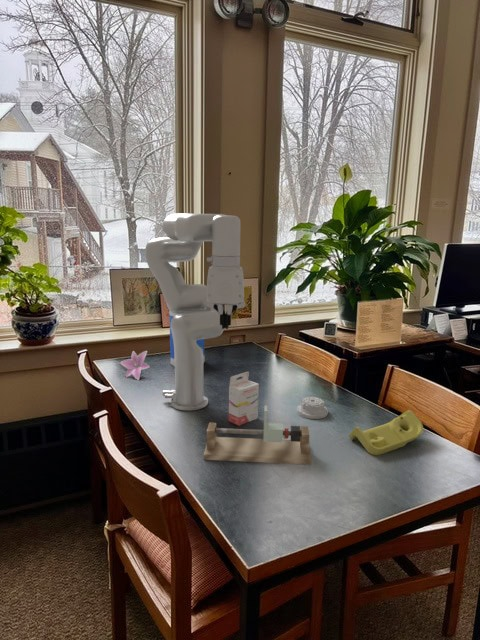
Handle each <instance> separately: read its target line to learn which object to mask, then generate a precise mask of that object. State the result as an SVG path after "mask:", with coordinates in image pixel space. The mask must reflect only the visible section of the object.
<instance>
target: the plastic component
mask: <svg viewBox="0 0 480 640" xmlns="http://www.w3.org/2000/svg"><path fill="white" fill-rule="evenodd" d="M423 432H424V425H423V423H422V421H421V420H420V419H419V418H418V416H416V414H415V413H414V412H413V411H412V410H406V411H404V412H402V413H401V414H400V415H398V416H397V417H395V418H393V419H391V420H390V421H389V422H386V423H383V424H381V425H378V426H375V427H372V428H371V427H370V428H369V429H365V430H362V429H361V428H360V427H359V426H355V427H354V428H353V430H351V432H350V433H349V435H348V438H349V439H350V440H352V441H356V440H358V441H359V442H360V443H361V445H362V446H363V448H364V449H365V450H366V452H367V453H369V454H370V455H372V456H381V455H382V454H386V453H388V452H391V451H394V450H398V449H400V448H402V447H405V446H406V445H407V444H408V443H410V442H412V441H414V440H416V439H417V438H418V437H420V436H421V435H422V433H423Z"/></svg>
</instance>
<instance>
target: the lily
mask: <svg viewBox="0 0 480 640" xmlns="http://www.w3.org/2000/svg"><path fill="white" fill-rule="evenodd" d="M147 354H148V350H144V351H142V352H140V353H139V354H137V353H136V352H135V350H133V351H132V352H131V356H130V358H128V359H124V360H122V361H120V362H119V363H120V365H122V366H123V367H124V368H125V369H127V370H126V372H125V375H124V377H125V376H126V377H125V378H128V377H129V376H131V375H132V376H133V378H134V379H135V380H136V379H137V380H136V381H140V378H141V373H142V372H143V370H146V369H150V367H151V365H149V364H147V362H144V361H145V359H146V357H147Z"/></svg>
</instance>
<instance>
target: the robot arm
mask: <svg viewBox="0 0 480 640" xmlns="http://www.w3.org/2000/svg"><path fill="white" fill-rule="evenodd" d="M161 227H162V228H161V229H162V232H163V234H164V235H165V237H157V238H153V239H151V240H149V241H147V243H146V245H145V249H144V250H145V253H144V254H145V259H146V264H147V266H148V268H149V270H150V272H151V274H152V275H153V276H154V278H155V279H156V281H157V283H158V285H159V288H160V290H161V293H162V295H163V299H164V301H165V303H166V306H167V308H168V310H170V311H171V312H172V313H175V314H177V315H175V316H174V317H173V318H172V320H171V332H172V337H173V343H174V362H175V366H174V389H172V390H167V389H166V390H165V389H163V390H162V396H163V397H164V399H170V405H171V407H173V408H174V409H175V410H179V411H197V410H200V409H203V408H205V407H207V406H208V404H209V399H208V397H207V396H205V395H204V362H203V352H202V350H201V348H200V347H199V346H198V345H197V343H196V341H197V340H201V339H204V340H207V339H214V338H218V337H219V336H221V335H222V334H223V332H224V329H225V330H229V326H231V325H232V314H233V313H234V312H235V311H236V310H238V309H244V308H245V306H246V303H245V279H244V277H245V276H244V271H243V267H242V266H241V265H240V264H241V218H239V216H237V215H230V214H229V215H227V214H223V213H193V212H187V213H186V212H185V213H172V214H170V215H168V216H166V217H165V218H164V220H163V221H162V224H161ZM204 242H211V243H212V244H211V245H212V246H211V251H212V252H211V256H209V257H206V263H210V264H211V266H209V267H208V270H207V271H208V272H207V279H206V282H207V283H206V284H202V283H199V284H197V283H196V284H188V283H186V281H185V278H184V276H183V275H182V272H180V270H178V268H176V267H175V266H174V265H172V264H171V263H177V262H179V263H180V262H191V261H193V260H194V259H195V258H196V257H197V255H198V253H199V251H200V249H201V247H202V245H203V243H204ZM224 305H227V310H226V311H225V308H224Z"/></svg>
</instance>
